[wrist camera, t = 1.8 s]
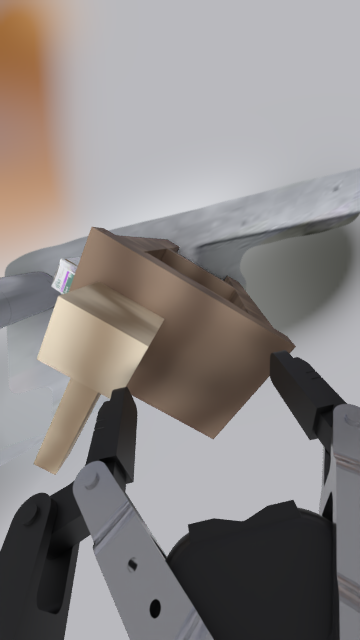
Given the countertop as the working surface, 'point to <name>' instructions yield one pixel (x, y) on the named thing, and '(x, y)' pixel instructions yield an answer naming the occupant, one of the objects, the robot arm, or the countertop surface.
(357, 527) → the robot arm
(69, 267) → the syrup box
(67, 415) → the mallet
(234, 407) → the shelf
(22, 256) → the countertop surface
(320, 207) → the countertop surface
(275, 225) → the countertop surface
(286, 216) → the countertop surface
